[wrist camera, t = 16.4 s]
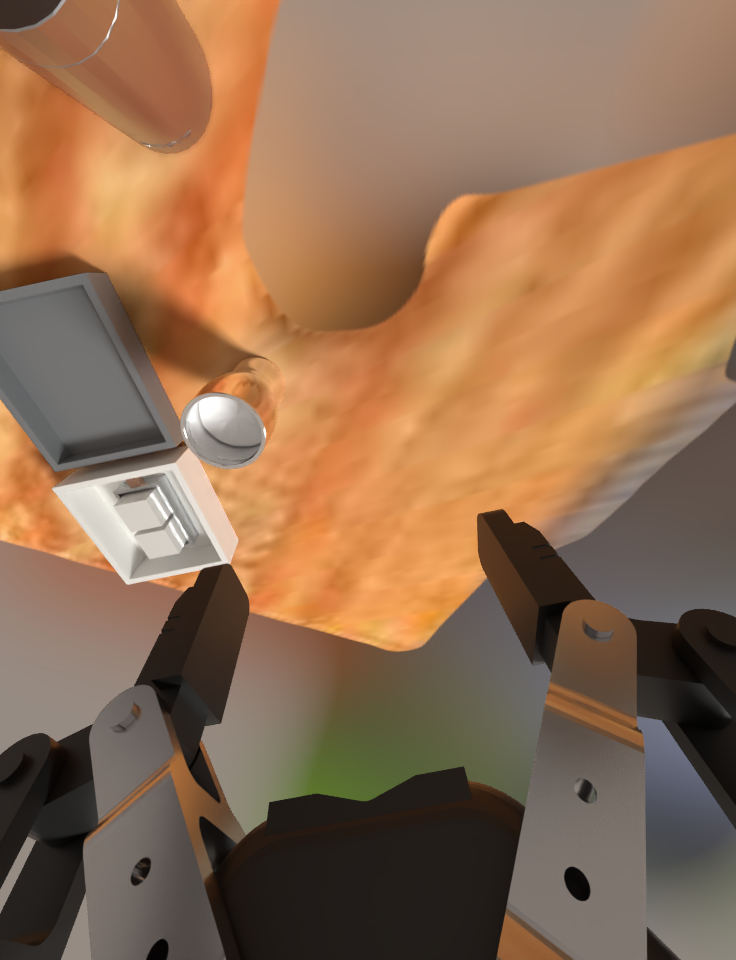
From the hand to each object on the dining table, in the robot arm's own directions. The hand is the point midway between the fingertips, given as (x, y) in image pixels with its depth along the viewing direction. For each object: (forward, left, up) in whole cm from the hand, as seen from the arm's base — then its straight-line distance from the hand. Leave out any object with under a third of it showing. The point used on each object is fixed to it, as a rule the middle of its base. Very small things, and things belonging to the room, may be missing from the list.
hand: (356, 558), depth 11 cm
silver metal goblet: (+1, -10, -33) cm, 35 cm away
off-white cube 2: (+17, -28, -32) cm, 45 cm away
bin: (+14, -28, -33) cm, 46 cm away
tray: (-4, -28, -33) cm, 43 cm away
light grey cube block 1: (+12, -28, -32) cm, 44 cm away
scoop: (+13, -28, -32) cm, 45 cm away
